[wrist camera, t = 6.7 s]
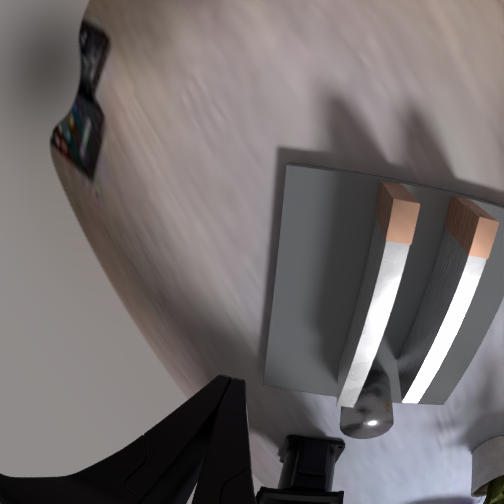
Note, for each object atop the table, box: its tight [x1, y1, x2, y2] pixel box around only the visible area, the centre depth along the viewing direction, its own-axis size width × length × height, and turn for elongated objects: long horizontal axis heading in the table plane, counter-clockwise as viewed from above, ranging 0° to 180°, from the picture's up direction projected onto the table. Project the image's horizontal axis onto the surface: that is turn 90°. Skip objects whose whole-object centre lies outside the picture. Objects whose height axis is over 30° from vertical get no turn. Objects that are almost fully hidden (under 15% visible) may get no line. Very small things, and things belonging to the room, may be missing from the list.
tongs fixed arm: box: [397, 195, 499, 403], centre depth 16 cm, size 13×1×4 cm, turn 177°
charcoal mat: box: [263, 163, 504, 405], centre depth 20 cm, size 18×17×1 cm
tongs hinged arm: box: [336, 180, 420, 439], centre depth 18 cm, size 18×5×4 cm, turn 177°
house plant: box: [471, 436, 504, 504], centre depth 18 cm, size 14×14×16 cm
